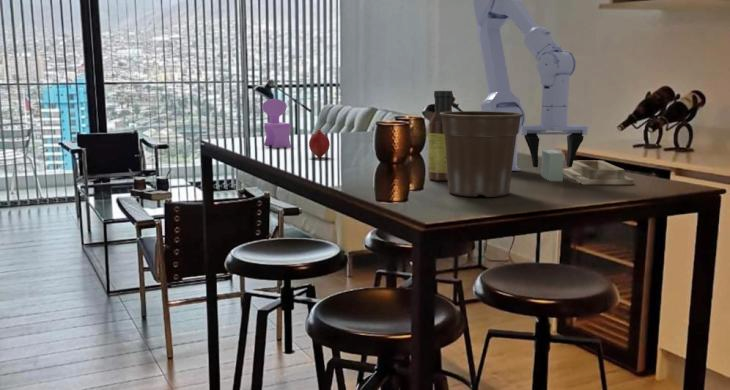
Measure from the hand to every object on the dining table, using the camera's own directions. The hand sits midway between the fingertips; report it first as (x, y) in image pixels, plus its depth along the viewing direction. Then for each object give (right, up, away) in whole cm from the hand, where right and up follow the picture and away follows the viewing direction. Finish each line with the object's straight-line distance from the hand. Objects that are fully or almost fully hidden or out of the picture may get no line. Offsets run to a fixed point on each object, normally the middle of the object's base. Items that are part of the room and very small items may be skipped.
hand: (552, 166), depth 161 cm
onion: (-55, +4, +38) cm, 67 cm away
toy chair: (-71, +9, +67) cm, 98 cm away
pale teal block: (0, -3, +1) cm, 3 cm away
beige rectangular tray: (+10, -3, 0) cm, 10 cm away
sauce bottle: (-25, -3, -1) cm, 25 cm away
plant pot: (-20, -6, -18) cm, 27 cm away
